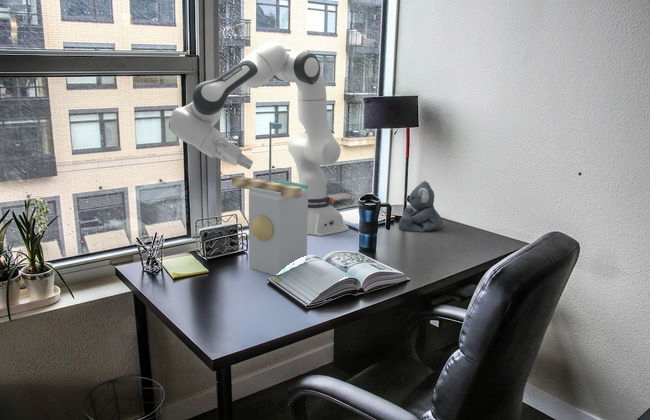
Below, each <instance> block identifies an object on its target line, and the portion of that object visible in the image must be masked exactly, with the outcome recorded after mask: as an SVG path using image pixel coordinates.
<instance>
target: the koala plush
mask: <svg viewBox="0 0 650 420" xmlns="http://www.w3.org/2000/svg"><path fill="white" fill-rule="evenodd" d="M419 182H420V181H419ZM406 201H407V203H409V205H410V207H409V206H406V207H405V208H404V210H403V214H402V216H401V218H399V222H398V225H397V227H398V229H399V230H401V231H406V232H419V233H424V232H430V231H439V230H441V228H442V227H443V226H444V224H443V219H442V217H441V215H440V214H439V213H438V212H437V209H435V206H434V202H435V192H434V190H433V189H432V186H431V184H430V183H429V182H428V181H427V180H422V181H421V182H420V183H419V185H417V186H416V187H415V188H413V190H412V191H411V192H410V194H409V195H407V197H406Z"/></svg>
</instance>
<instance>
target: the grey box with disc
mask: <svg viewBox="0 0 650 420" xmlns="http://www.w3.org/2000/svg"><path fill="white" fill-rule="evenodd" d="M276 183H281V184H286V185H292V186H298V187H302V197H299V198H291V197H286V196H281V192H276V191H270V190H265V189H260V188H254V187H249V189H248V268H249V269H250V270H251V269H252V270H254V271H255V270H256V271H258V272H262V273H266V274H269V275H272V276H275V275H276V274H278V273H279V272H280V271H281V270H282V269H284V268H285V267H286V266H287V265H289V264H290V263H292V262H294V261H295V260H297V259H299V258H301V257H304V256H308V253H307V252H308V251H307V250H308V234H307V222H308V185H306V184H300V183H299V182H293V181H288V180H282V179H281V180H280V179H277V180H276Z"/></svg>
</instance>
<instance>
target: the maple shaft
mask: <svg viewBox="0 0 650 420" xmlns="http://www.w3.org/2000/svg"><path fill="white" fill-rule="evenodd" d="M231 187H234V188H239V189H244V190H249V187H254V188H260V189H265V190H270V191H276V192H281V196H286V197H291V198H299V197H302V187H298V186H292V185H286V184H281V183H277V182H274V181H268V180H263V179H258V178H252V177H246V176H240V175H235V176H232V177H231Z"/></svg>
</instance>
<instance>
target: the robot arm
mask: <svg viewBox="0 0 650 420" xmlns="http://www.w3.org/2000/svg"><path fill="white" fill-rule="evenodd" d="M273 78H274V79H275V80H277V81H280V82H287V83H295V84H296V87H297V110H298V111H297V112H298V113H297V115H298V116H297V117H298V120H299V123H300V124H301V125H302V126H303V128H304V130H305V132H300V133H295V134H293V135H292V136H291V137H290V138H289V140H288V144H287V148H288V152H289V153H290V155H291V156H292V159H294V160H293V161H294V163H295V167H296V170H297V174H298V175H297V176H298V183H300V184H306V185H308V222H307V235H314V236H317V237H318V236H319V237H323V236H328V235H333V234H337V233H342V232H346V231H349V225H347V224H346V223H344V217H343V215H342V213H341V212H340V211H338V209H335V207H334V206H332V205H331V204H334V203H335V199H334V198H333V197H330V196H327V183H328V182H327V181H328V180H327V176H326V174H325V173H324V171H323V170H322V168H321V165H322V166H323V165H324V166H326V165H333V164H335V163H336V162H337V161H338V160H339V159H340V157H341V152H342V151H341V146H340V143H339V142H338V141H337V140H336V138H335V137H334V135H333V132H332V130H331V128H330V124H329V119H328V106H327V105H328V104H327V102H328V101H327V90H326V82H325V76H324V74H323V72H322V71H321V65H320V61H319V59H318V57H317V56H316V54H314V53H312V52H309V51H299V50H292V51H287V50H286V49H285V47H284V45H282V44H281V43H279V42H278V41H274V40H272V41H269V42H266V43H264V44H262V45H261V46H259V47H257V48H255V49H254V50H252V51H251V52H250V53H249V54H247V56H245V57H244V58H243V59H242V60H241V61H240V62H239V63H237V64H236V65H234V66H233V67H231V68H230V69H229V68H228V70H226V71H225V72H224V73H222V74H221V75H219V76H218V77H216V78H214V79H210V80H209V79H208V80H205V81H203V82H201V83H199V84H197V85H196V86H195V88H193V89H194V90H193V92H192V102H191V103H188V104H187V105H184V106H182V107H177V108H175V109H174V110H173V111H172V113H171V114H170V118H169V121H168V129H169V131H170V132H171V133H172V134H173V135H174V136H176V137H177V138H178V139H180V140H181V141H183V142H184V143H186V144H188V145H191V146H193V147H195V148H196V149H197V150H198V151H199V152H201V153H203V154H204V155H207V156H208V157H210V158H211V159H213V158H218V159H220V160H221V161H223V162H225V163H228V164H230V165H232V166H235V167H236V166H237V165H239V166H241V167H243V168H245V169H247V170H250V169H251V168H252V166H253V163H254V161H253V160H252V159H250V158H249V157H247V156H246V155H245V154H243V149H242V148H240V147H239V146H237V145H236V144H234V143H232V142H230V141H229V140H228V139H226V136H227V134H225V132H224V133H223V132H221V131H220V130H218V129H217V128H215V127H214V126H215V125H216V124H217V123H218V122H219V120H220V118H221V115H222V111H223V108H224V105H225V104H226V101H227V98H228V97H229V96H230V94H231V95H232V93H233V92H235V91H236V90H238V89H239V88H240V87H242V86H243V85H245V86H247V87H248V88H251V89H257V88H259V87H262V86H263V85H265V84H266V83H268V82H269V81H270V80H271V79H273ZM330 203H331V204H330Z"/></svg>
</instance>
